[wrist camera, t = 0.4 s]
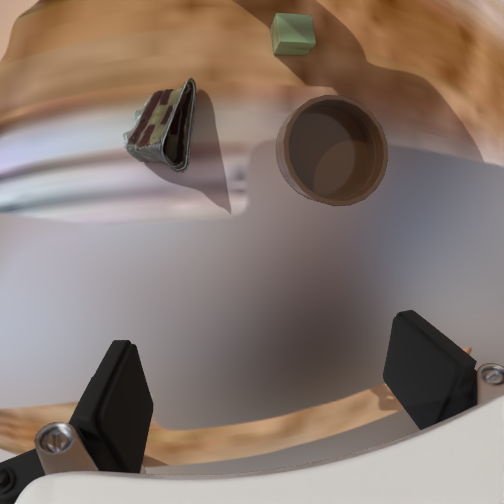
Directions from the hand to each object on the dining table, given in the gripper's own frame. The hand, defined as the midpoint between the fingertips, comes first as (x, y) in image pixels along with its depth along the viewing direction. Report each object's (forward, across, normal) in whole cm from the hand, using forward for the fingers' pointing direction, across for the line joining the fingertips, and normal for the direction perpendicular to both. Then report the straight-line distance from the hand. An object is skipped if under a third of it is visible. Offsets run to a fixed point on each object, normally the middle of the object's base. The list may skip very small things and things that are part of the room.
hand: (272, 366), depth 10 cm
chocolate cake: (+30, +8, -14) cm, 34 cm away
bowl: (+30, -12, -9) cm, 33 cm away
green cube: (+30, -8, -25) cm, 40 cm away
